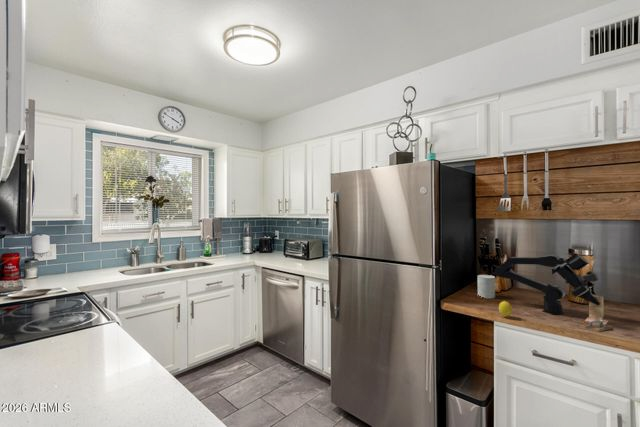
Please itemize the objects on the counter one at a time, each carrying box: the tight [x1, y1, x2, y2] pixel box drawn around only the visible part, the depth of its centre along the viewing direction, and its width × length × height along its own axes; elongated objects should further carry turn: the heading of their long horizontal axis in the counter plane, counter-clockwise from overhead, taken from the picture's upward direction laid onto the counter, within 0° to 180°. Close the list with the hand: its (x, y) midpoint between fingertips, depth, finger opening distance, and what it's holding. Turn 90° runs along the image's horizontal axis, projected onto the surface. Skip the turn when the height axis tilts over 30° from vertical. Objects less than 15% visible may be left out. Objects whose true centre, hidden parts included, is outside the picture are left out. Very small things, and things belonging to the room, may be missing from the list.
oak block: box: [588, 294, 605, 320], centre depth 140 cm, size 4×4×10 cm
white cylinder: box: [477, 274, 496, 299], centre depth 184 cm, size 10×10×12 cm
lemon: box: [498, 300, 513, 318], centre depth 147 cm, size 6×6×8 cm
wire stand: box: [584, 317, 612, 332], centre depth 132 cm, size 5×10×4 cm, turn 112°
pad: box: [584, 316, 609, 325], centre depth 140 cm, size 7×7×1 cm
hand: (600, 303), depth 139 cm, fingers closed on oak block, 4 cm apart
